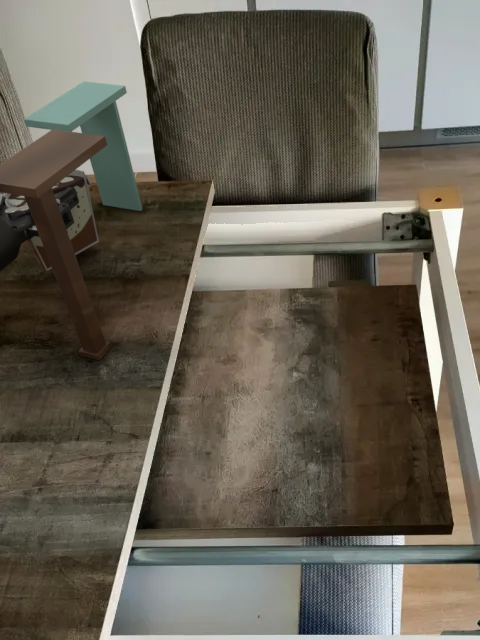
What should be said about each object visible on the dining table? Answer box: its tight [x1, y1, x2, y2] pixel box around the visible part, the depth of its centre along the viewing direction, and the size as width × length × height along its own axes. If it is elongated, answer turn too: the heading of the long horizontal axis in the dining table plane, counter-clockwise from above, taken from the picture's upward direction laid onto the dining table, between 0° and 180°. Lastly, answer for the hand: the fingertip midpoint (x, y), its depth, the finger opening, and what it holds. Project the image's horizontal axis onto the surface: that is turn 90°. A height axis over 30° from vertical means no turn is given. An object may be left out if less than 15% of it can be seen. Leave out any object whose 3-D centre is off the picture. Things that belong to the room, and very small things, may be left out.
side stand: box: [0, 129, 113, 361], centre depth 76 cm, size 7×12×22 cm, turn 160°
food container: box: [5, 169, 100, 272], centre depth 90 cm, size 12×6×10 cm, turn 145°
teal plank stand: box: [23, 81, 143, 212], centre depth 96 cm, size 7×14×18 cm, turn 160°
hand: (51, 190), depth 89 cm, fingers closed on food container, 7 cm apart
